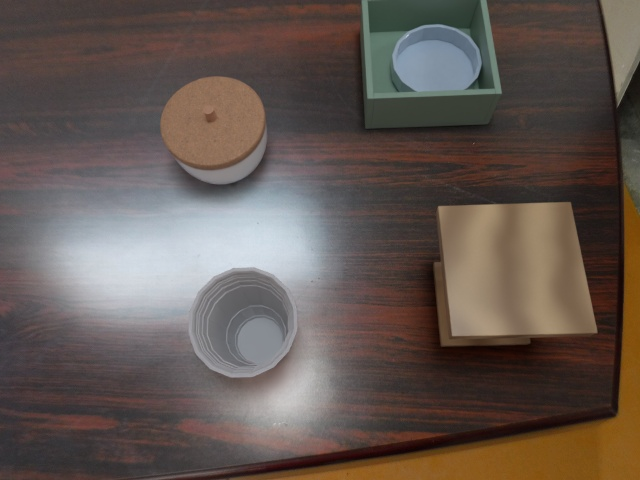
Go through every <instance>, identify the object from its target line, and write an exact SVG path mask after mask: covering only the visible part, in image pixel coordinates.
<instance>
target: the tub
mask: <svg viewBox="0 0 640 480" xmlns="http://www.w3.org/2000/svg"><path fill="white" fill-rule="evenodd" d="M488 8H489V6H488V2H487V0H360V21H359V22H360V23H359V38H360V39H359V40H360V57H361V76H362V77H361V78H362V94H363V112H364V113H363V114H364V115H363V116H364V128H365V130H368V129H369V130H371V129H373V130H374V129H393V128H394V129H397V128H400V129H401V128H425V127H448V126H449V127H452V126H453V127H454V126H455V127H456V126H479V125H480V126H481V125H489V123H490V122H491V120H492V117H493V114H494V112H495V110H496V107H497V105H498V103H499V101H500V99H501V97H502V94H503V91H502V85H501V80H500V73H499V66H498V62H497V54H496V50H495V49H496V48H495V43H494V38H493V33H492V25H491V21H490V20H491V19H490V13H489V9H488ZM434 24H441V25H445V26H449V27H454V28H457V29H459V30H460V31H462V32H463V33H465V34H467V35H468V36H470V37H471V39H472V40H473V41H474V43H475V44H476V45H477V47H478V48H479V50H480V55H481V60H482V65H481V69H480V72H479V75H478V78H477V81H476V84H475V86H474V89H472V90H446V91H420V92H399V90H398V89H397V87H396V86H395V84H394V83H393V81H392V75H391V60H392V54H393V51H394V49H395V46H396V43H397V41H398V40H400V39H401V38H402V37H403V36H404V35H405V34H406V33H407V32H408V31H410V30H413V29H415V28H418V27H420V26H423V25H434Z"/></svg>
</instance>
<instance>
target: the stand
mask: <svg viewBox="0 0 640 480" xmlns="http://www.w3.org/2000/svg"><path fill="white" fill-rule="evenodd" d="M435 218H436V228H437V237H438V239H437V240H438V246H439V247H438V248H439V257H440V261H434V262H433V264H432V271H433V272H432V273H433V282H434V292H435V302H436V312H437V314H436V315H437V323H438V332H439V333H438V335H439V343H440V347H441V348H444V347H446V348H447V347H484V346H485V347H486V346H487V347H488V346H528V345H530V344H531V343H532V342H531V339H532V338H571V337H572V338H574V337H575V338H576V337H592V336H594V335H596V334H598V327H597V324H596V318H595V314H594V308H593V304H592V299H591V294H590V289H589V284H588V278H587V274H586V270H585V264H584V261H583V255H582V251H581V245H580V241H579V235H578V231H577V226H576V221H575V216H574V211H573V207H572V202H571V201H558V202H528V203H527V202H525V203H523V202H522V203H521V202H520V203H495V204H494V203H493V204H490V203H489V204H465V205H464V204H461V205H459V204H458V205H437V208H436V211H435Z"/></svg>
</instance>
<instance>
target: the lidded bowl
mask: <svg viewBox="0 0 640 480" xmlns="http://www.w3.org/2000/svg"><path fill="white" fill-rule="evenodd" d="M160 116H161V117H160V121H159V130H160V131H159V132H160V135H161V139H162V142H163V144H164V146H165V147H166V149H167V151H168V152H169V153H170V154H171V156H173V158H174V159H175V161H176V162H177V164H178V165H180V167H181V168H182V169H183V170H184V171H185V172H186V173H188V174H189V175H191V176H192V177H193V178H195V179H197V180H199V181H201V182H204V183H207V184H212V185H229V184H233V183H237V182H239V181H240V180H243V179H244V178H246V177H248V176H249V175H250V174H252V173H253V172H254V171H255V170H256V168H257V167H258V166H259V164H260V163H261V161H262V159H263V157H264V155H265V153H266V148H267V142H268V125H267V120H266V119H267V118H266V117H267V115H266V110H265V107H264V104H263V101H262V99H261V97H260V96H259V95H258V93H257V92H256V91H255V90H254V88H252V87H251V86H249V85H248V84H247V83H245V82H243V81H241V80H239V79H236V78H233V77H229V76H228V77H227V76H219V75H218V76H217V75H216V76H215V75H214V76H206V77H201V78H198V79H196V80H193V81H191V82H188V83H187V84H185V85H184V86H182V87H181V88H179V89H178V90H177V91H176V92H175V93H173V94H172V96H171V97H170V99H168V101H167V102H166V103H165V106H164V107H163V110H162V112H161V115H160Z"/></svg>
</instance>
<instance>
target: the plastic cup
mask: <svg viewBox="0 0 640 480" xmlns="http://www.w3.org/2000/svg"><path fill="white" fill-rule="evenodd" d="M297 332H298V307H297V304H296V302H295V300H294V298H293V296H292V293H291V291H290V288H289V287H287V286H286V285H285V284H284V283H283V282H282V281H281V280H280V279H279V278H278V277H277V276H276V275H275V274H274V273H271V272H268V271H265V270H263V269H260V268H257V267H253V266H252V267H232V268H230V269H227V270H226V271H223V272H221V273H219V274H217V275H214V276H212V278H211V279H210V280H209V281H207V282H206V284H204V286H203V287H202V288H200V289H199V290H198V292H197V293H196V296H195V298H194V300H193V302H192V305H191V307H190V309H189V311H188V331H187V334H188V337H189V341H190V342H191V345H192V348H193V350H194V353H195V355H196V356H197V357H198V358H199V359H200V360H201V361H202V362H203V363H204V364H205V366H207V367H208V369H209V370H211V371H214V372H216V373H219V374H222V375H223V376H225V377H228V378H253V377H256V376H258V375H260V374H263V373H265V372H267V371H269V370H271V369H273V368H275V367H276V366H277V365H278V363H279V362H280V361H281V360H282V359H283V358H284V357H285V356H286V355H287V354H288V353H289V352H290V350H291V348H292V345H293V342H294V340H295V337H296V334H297Z"/></svg>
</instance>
